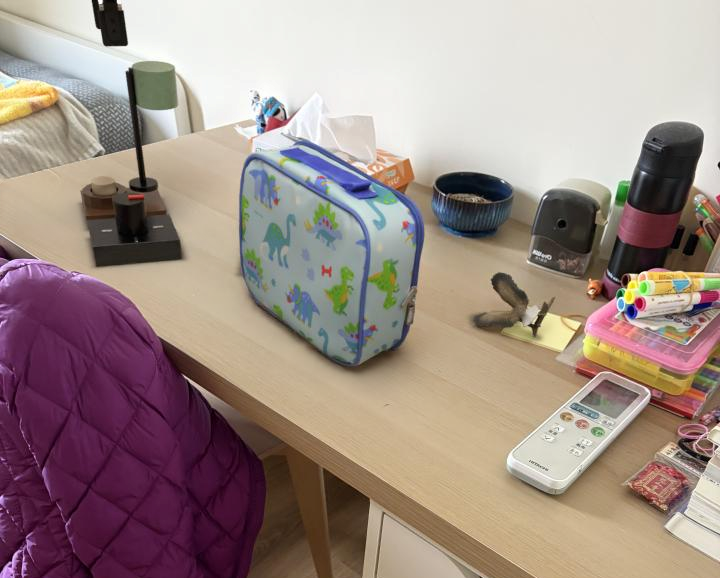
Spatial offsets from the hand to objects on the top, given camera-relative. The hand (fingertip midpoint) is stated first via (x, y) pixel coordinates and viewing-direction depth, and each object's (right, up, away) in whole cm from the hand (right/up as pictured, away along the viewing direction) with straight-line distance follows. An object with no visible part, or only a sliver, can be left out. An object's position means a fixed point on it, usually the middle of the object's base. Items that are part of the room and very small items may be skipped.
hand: (111, 36), depth 98 cm
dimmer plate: (+1, -27, +8) cm, 28 cm away
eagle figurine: (+54, -40, -1) cm, 67 cm away
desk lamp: (+2, -14, +16) cm, 21 cm away
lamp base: (-4, -18, +17) cm, 25 cm away
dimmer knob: (+1, -24, +6) cm, 25 cm away
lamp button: (-6, -16, +13) cm, 22 cm away
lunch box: (+29, -41, -4) cm, 50 cm away
